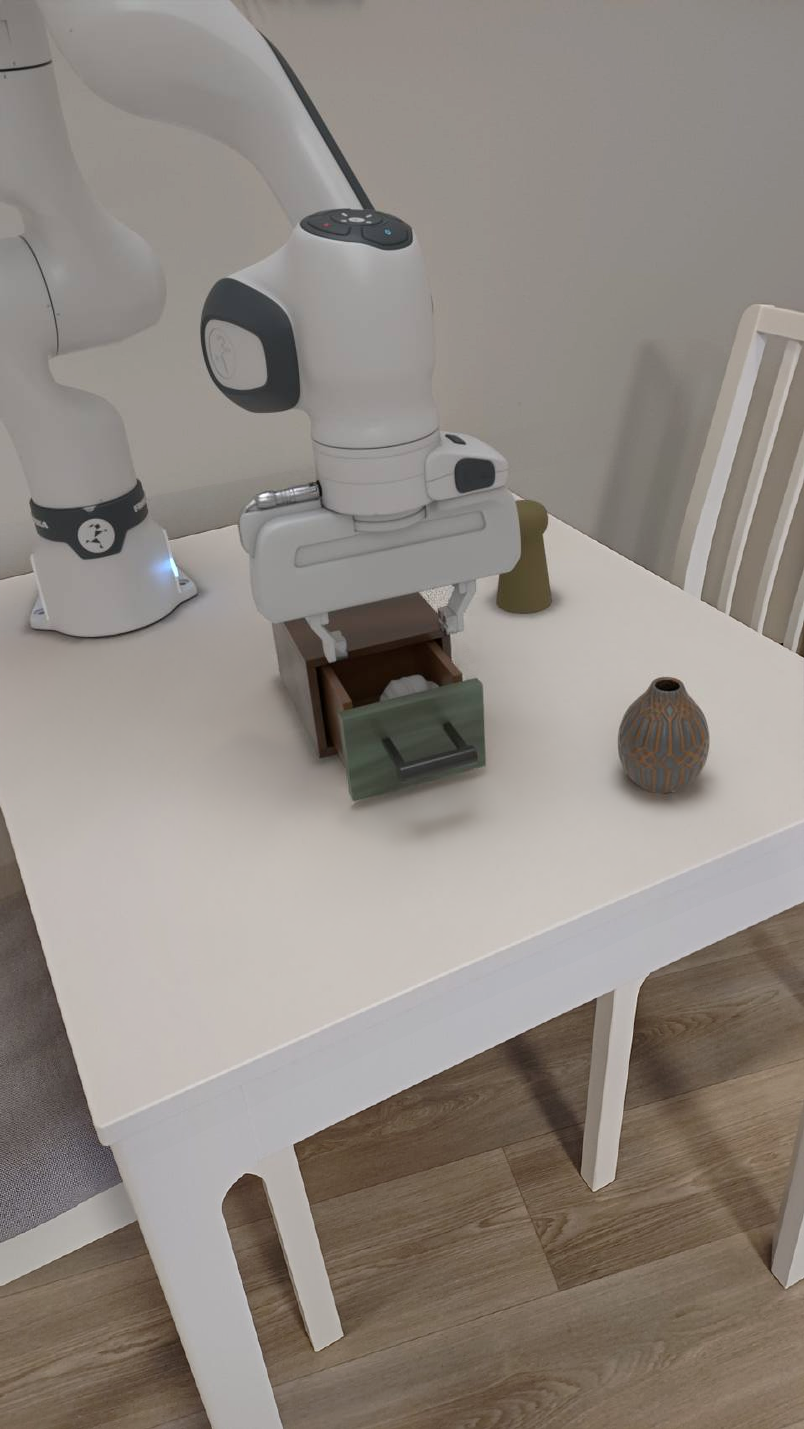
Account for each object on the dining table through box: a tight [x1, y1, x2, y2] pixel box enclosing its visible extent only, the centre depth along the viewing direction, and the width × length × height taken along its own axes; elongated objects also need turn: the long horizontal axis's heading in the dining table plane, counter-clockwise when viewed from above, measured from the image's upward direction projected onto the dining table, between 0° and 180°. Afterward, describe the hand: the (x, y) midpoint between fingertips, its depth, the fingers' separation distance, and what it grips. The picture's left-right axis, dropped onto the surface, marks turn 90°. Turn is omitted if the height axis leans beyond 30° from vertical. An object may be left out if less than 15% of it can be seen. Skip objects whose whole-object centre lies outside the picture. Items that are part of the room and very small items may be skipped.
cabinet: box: [270, 592, 453, 759], centre depth 90 cm, size 15×13×10 cm
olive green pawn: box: [495, 499, 553, 614], centre depth 105 cm, size 6×6×11 cm
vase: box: [617, 676, 711, 794], centre depth 77 cm, size 7×7×9 cm
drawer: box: [316, 639, 487, 802], centre depth 81 cm, size 19×11×8 cm, turn 19°
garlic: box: [380, 675, 439, 701], centre depth 83 cm, size 6×5×5 cm
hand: (394, 644), depth 77 cm, fingers open, 8 cm apart
